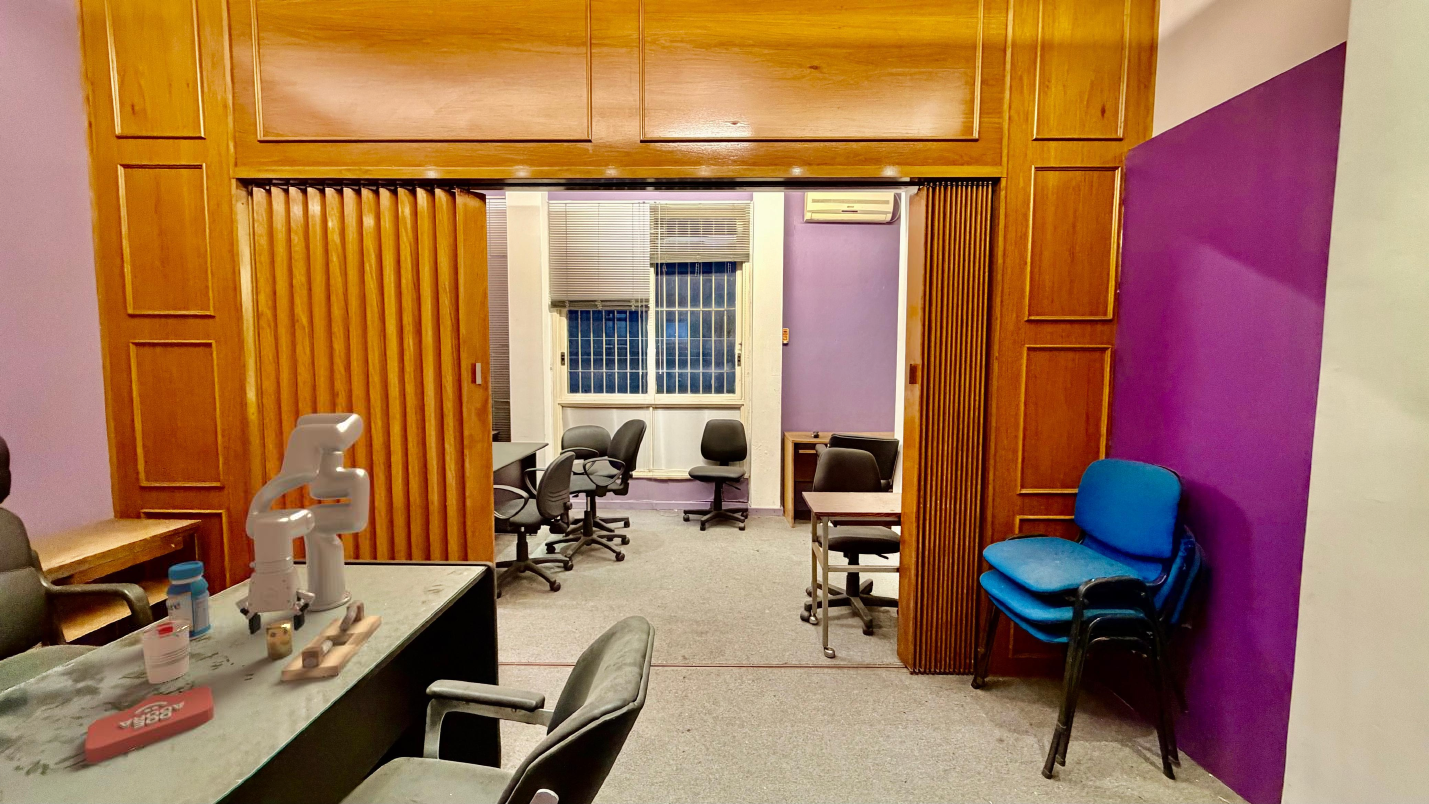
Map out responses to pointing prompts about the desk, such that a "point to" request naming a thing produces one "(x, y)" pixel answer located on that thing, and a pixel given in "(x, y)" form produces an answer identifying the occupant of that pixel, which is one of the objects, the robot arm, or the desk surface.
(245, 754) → the desk surface
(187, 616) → the blue supplement bottle
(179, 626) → the striped cup with float
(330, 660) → the shaft jig
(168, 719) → the plaque
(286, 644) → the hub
